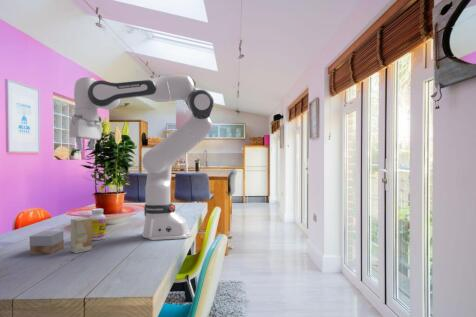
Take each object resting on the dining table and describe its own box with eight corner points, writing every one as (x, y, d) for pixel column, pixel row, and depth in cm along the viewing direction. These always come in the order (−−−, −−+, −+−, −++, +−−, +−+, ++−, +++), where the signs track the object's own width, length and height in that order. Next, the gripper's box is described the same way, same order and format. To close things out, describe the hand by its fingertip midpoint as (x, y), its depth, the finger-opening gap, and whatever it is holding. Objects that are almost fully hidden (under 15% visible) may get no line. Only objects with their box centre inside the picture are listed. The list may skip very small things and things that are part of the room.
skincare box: (75, 253, 118) (75, 220, 117) (70, 251, 120) (69, 219, 120) (92, 249, 123) (92, 217, 123) (86, 247, 125) (86, 216, 125)
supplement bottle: (99, 241, 135) (99, 210, 135) (85, 240, 137) (85, 210, 137) (109, 237, 142) (108, 208, 142) (95, 236, 143) (95, 207, 143)
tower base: (63, 248, 125) (63, 239, 125) (51, 255, 117) (51, 245, 117) (43, 249, 126) (43, 240, 126) (30, 255, 118) (30, 245, 118)
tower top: (63, 240, 125) (63, 231, 125) (51, 245, 117) (51, 236, 117) (43, 240, 125) (43, 231, 125) (29, 245, 117) (29, 236, 117)
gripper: (80, 113, 125) (81, 148, 125) (104, 119, 145) (104, 149, 145) (64, 113, 125) (65, 148, 125) (90, 119, 145) (90, 150, 145)
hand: (86, 149), depth 135 cm, fingers open, 8 cm apart
